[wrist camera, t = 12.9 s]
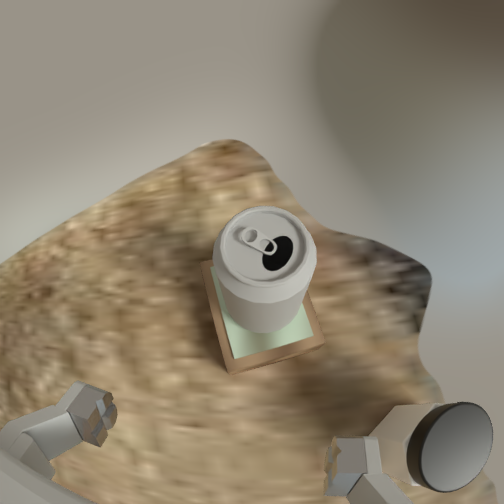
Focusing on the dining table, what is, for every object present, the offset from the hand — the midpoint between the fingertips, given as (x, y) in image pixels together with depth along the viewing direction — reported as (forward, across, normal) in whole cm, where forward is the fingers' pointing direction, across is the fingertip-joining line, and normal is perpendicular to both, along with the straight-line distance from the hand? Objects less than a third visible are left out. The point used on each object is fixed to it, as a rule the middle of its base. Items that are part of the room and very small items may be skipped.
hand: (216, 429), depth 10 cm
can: (+22, 0, -7) cm, 23 cm away
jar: (+15, +18, -20) cm, 30 cm away
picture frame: (+24, -1, -10) cm, 26 cm away
